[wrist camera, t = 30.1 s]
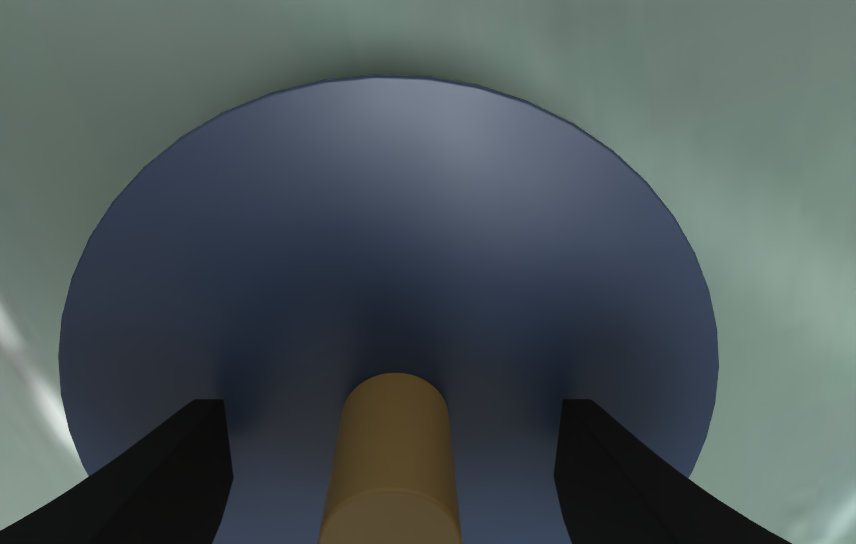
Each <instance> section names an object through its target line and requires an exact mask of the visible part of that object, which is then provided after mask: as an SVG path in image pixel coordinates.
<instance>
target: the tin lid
mask: <svg viewBox="0 0 856 544" xmlns="http://www.w3.org/2000/svg"><path fill="white" fill-rule="evenodd" d="M58 359H59V373H60V387H61V397H62V401H63V405H64V410H65V414H66V418H67V423H68V427H69V431H70V434H71V436H72V439H73V442H74V444H75V447H76V449H77V452H78V454H79V457H80V459H81V462H82V465H83V467H84V468H85V470H86V472H87V474H88V476H90V475H92V474H93V473H95V472H96V471H98V470H99V469H101V468H102V467H103V466H105V465H106V464H108V463H109V462H111V461H112V460H114V459H115V458H117V457H118V456H119V455H121V454H122V453H123V452H125V451H126V450H127V449H129V448H130V447H131V446H133V445H134V444H135V443H137V442H138V441H139V440H141V439H142V438H143V437H145V436H146V435H147V434H149V433H150V432H151V431H153V430H154V429H155V428H156V427H158V426H159V425H160V424H162V423H163V422H164V421H166V420H167V419H168V418H169V417H171V416H172V415H173V414H175V413H176V412H177V411H179V410H180V409H181V408H183V407H184V406H185V405H187V404H188V403H190V402H191V401H193V400H194V399H224V405H225V413H226V421H227V429H228V437H229V445H230V452H231V460H232V468H233V476H234V479H233V482H232V486H231V490H230V493H229V497H228V501H227V504H226V508H225V511H224V514H223V518H222V521H221V524H220V526H219V529H218V531H217V534H216V536H215V538H214V541H213V543H212V544H572V543H571V540H570V537H569V534H568V532H567V529H566V526H565V523H564V520H563V516H562V512H561V508H560V504H559V500H558V495H557V491H556V486H555V481H554V477H553V475H554V467H555V459H556V450H557V442H558V434H559V426H560V418H561V410H562V402H563V399H591V400H593V401H594V402H595V403H597V404H598V405H599V406H600V407H601V408H603V409H604V410H605V411H606V412H607V413H608V414H610V415H611V416H612V417H613V418H614V419H615V420H617V421H618V422H619V423H620V424H621V425H622V426H624V427H625V428H626V429H627V430H628V431H629V432H631V433H632V434H633V435H634V436H635V437H636V438H638V439H639V440H640V441H641V442H642V443H644V444H645V445H646V446H647V447H648V448H650V449H651V450H652V451H653V452H654V453H656V454H657V455H658V456H659V457H661V458H662V459H663V460H664V461H666V462H667V463H668V464H670V465H671V466H672V467H673V468H675V469H676V470H677V471H679V472H680V473H681V474H683V475H684V476H686V477H687V478H689V476H690V474H691V473H692V471H693V469H694V466H695V464H696V461H697V459H698V457H699V454H700V452H701V449H702V447H703V444H704V442H705V440H706V437H707V433H708V429H709V425H710V421H711V417H712V413H713V409H714V405H715V399H716V389H717V380H718V370H719V360H718V340H717V327H716V322H715V317H714V312H713V307H712V303H711V298H710V293H709V289H708V286H707V284H706V281H705V279H704V276H703V273H702V271H701V268H700V265H699V263H698V260H697V257H696V255H695V252H694V251H693V249H692V247H691V245H690V243H689V242H688V240H687V238H686V236H685V235H684V233H683V231H682V229H681V228H680V226H679V224H678V222H677V221H676V219H675V217H674V216H673V214H672V213H671V212H670V211H669V209H668V208H667V207H666V206H665V204H664V203H663V202H662V201H661V199H660V198H659V197H658V195H657V194H656V193H655V192H654V190H653V189H652V188H651V187H650V185H649V184H648V183H647V182H646V181H645V180H644V179H643V178H642V177H641V176H640V175H639V174H638V173H637V172H635V171H634V170H633V169H632V168H631V167H630V166H629V165H628V164H627V163H626V162H625V161H624V160H623V159H621V158H620V157H619V156H618V155H617V154H616V153H615V152H614V151H613V150H611V149H610V148H608V147H607V146H605V145H604V144H603V143H601V142H600V141H598V140H597V139H595V138H594V137H592V136H591V135H589V134H588V133H586V132H585V131H584V130H582V129H581V128H579V127H578V126H576V125H575V124H573V123H571V122H569V121H567V120H565V119H563V118H561V117H559V116H557V115H555V114H553V113H551V112H549V111H547V110H545V109H543V108H541V107H539V106H537V105H534V104H532V103H530V102H528V101H526V100H523V99H520V98H517V97H514V96H511V95H508V94H505V93H502V92H498V91H495V90H492V89H489V88H486V87H483V86H480V85H476V84H471V83H465V82H459V81H454V80H448V79H442V78H437V77H431V76H418V75H390V74H371V75H361V76H352V77H342V78H332V79H324V80H320V81H316V82H312V83H308V84H304V85H300V86H296V87H292V88H288V89H284V90H280V91H276V92H272V93H269V94H267V95H264V96H262V97H259V98H257V99H255V100H252V101H250V102H247V103H245V104H242V105H240V106H237V107H235V108H232V109H230V110H227V111H225V112H223V113H221V114H219V115H218V116H216V117H214V118H213V119H211V120H209V121H208V122H206V123H204V124H202V125H201V126H199V127H197V128H196V129H194V130H192V131H191V132H189V133H187V134H185V135H184V136H182V137H180V138H179V139H178V140H177V141H176V142H174V143H173V144H172V145H171V146H169V147H168V148H167V149H166V150H164V151H163V152H162V153H161V154H160V155H158V156H157V157H156V158H155V159H153V160H152V161H151V162H150V163H148V164H147V165H146V166H145V167H144V168H143V169H142V170H141V171H140V172H139V173H138V174H137V175H136V176H135V178H134V179H133V180H132V181H131V182H130V183H129V184H128V185H127V186H126V188H125V189H124V190H123V191H122V192H121V193H120V194H119V195H118V196H117V197H116V199H115V200H114V201H113V202H112V204H111V205H110V207H109V208H108V210H107V211H106V213H105V214H104V216H103V218H102V219H101V221H100V222H99V224H98V225H97V227H96V228H95V230H94V231H93V233H92V235H91V236H90V238H89V240H88V242H87V244H86V246H85V249H84V251H83V253H82V256H81V258H80V260H79V262H78V265H77V267H76V269H75V271H74V274H73V276H72V279H71V283H70V287H69V291H68V295H67V299H66V303H65V307H64V311H63V315H62V321H61V332H60V343H59V355H58Z"/></svg>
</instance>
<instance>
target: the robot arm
mask: <svg viewBox="0 0 856 544" xmlns="http://www.w3.org/2000/svg"><path fill="white" fill-rule="evenodd" d="M553 477H554V481H555V486H556V491H557V495H558V500H559V504H560V508H561V512H562V516H563V520H564V523H565V526H566V529H567V532H568V534H569V537H570V540H571V543H572V544H792V543H790V542H788V541H786V540H784V539H783V538H781V537H779V536H777V535H775V534H773V533H771V532H770V531H768V530H766V529H765V528H763V527H761V526H759V525H758V524H756V523H754V522H753V521H751V520H749V519H748V518H746V517H745V516H743V515H742V514H740V513H738V512H737V511H735V510H734V509H732V508H730V507H729V506H727V505H726V504H724V503H723V502H721V501H719V500H718V499H716V498H715V497H714V496H712V495H711V494H709V493H708V492H706V491H705V490H703V489H702V488H701V487H699V486H698V485H696V484H695V483H694V482H692V481H691V480H690V479H688V478H687V477H686V476H684V475H683V474H681V473H680V472H679V471H677V470H676V469H675V468H673V467H672V466H671V465H670V464H668V463H667V462H666V461H664V460H663V459H662V458H661V457H659V456H658V455H657V454H656V453H654V452H653V451H652V450H651V449H650V448H648V447H647V446H646V445H645V444H644V443H642V442H641V441H640V440H639V439H638V438H636V437H635V436H634V435H633V434H632V433H631V432H629V431H628V430H627V429H626V428H625V427H624V426H622V425H621V424H620V423H619V422H618V421H617V420H615V419H614V418H613V417H612V416H611V415H610V414H608V413H607V412H606V411H605V410H604V409H603V408H601V407H600V406H599V405H598V404H597V403H595V402H594V401H593V400H591V399H563V402H562V410H561V418H560V426H559V434H558V442H557V450H556V459H555V467H554V475H553ZM233 479H234V476H233V468H232V460H231V452H230V445H229V437H228V429H227V421H226V413H225V405H224V399H194V400H193V401H191V402H190V403H188V404H187V405H185V406H184V407H183V408H181V409H180V410H179V411H177V412H176V413H175V414H173V415H172V416H171V417H169V418H168V419H167V420H166V421H164V422H163V423H162V424H160V425H159V426H158V427H156V428H155V429H154V430H153V431H151V432H150V433H149V434H147V435H146V436H145V437H143V438H142V439H141V440H139V441H138V442H137V443H135V444H134V445H133V446H131V447H130V448H129V449H127V450H126V451H125V452H123V453H122V454H121V455H119V456H118V457H117V458H115V459H114V460H112V461H111V462H109V463H108V464H106V465H105V466H103V467H102V468H101V469H99V470H98V471H96V472H95V473H93V474H92V475H90V476H89V477H88V478H86V479H85V480H83V481H82V482H80V483H79V484H77V485H76V486H75V487H73V488H72V489H70V490H68V491H67V492H65V493H64V494H62V495H61V496H59V497H57V498H56V499H54V500H53V501H51V502H49V503H48V504H46V505H44V506H43V507H41V508H39V509H38V510H36V511H34V512H32V513H31V514H29V515H27V516H26V517H24V518H22V519H21V520H19V521H17V522H15V523H14V524H12V525H10V526H8V527H6V528H5V529H3V530H1V531H0V544H212V543H213V541H214V538H215V536H216V534H217V531H218V529H219V526H220V524H221V521H222V518H223V514H224V511H225V508H226V504H227V501H228V497H229V493H230V490H231V486H232V482H233Z"/></svg>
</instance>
